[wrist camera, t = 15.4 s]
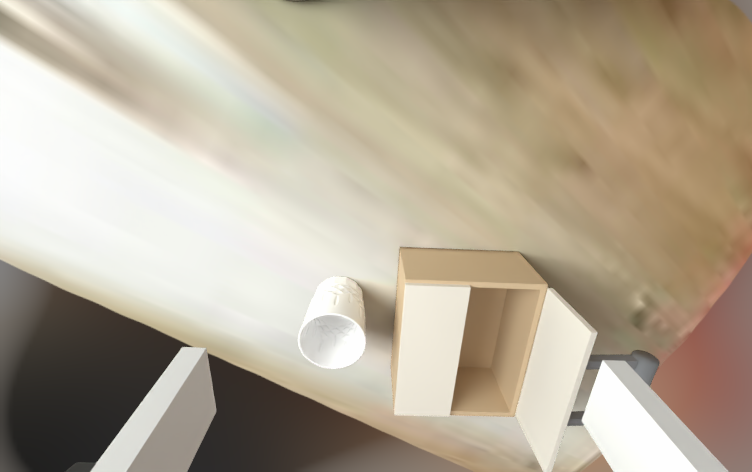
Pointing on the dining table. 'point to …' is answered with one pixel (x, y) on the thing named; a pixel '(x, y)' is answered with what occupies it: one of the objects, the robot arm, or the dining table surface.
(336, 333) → the white cup
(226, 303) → the dining table surface
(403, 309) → the cabinet
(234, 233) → the dining table surface
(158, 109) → the dining table surface
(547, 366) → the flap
